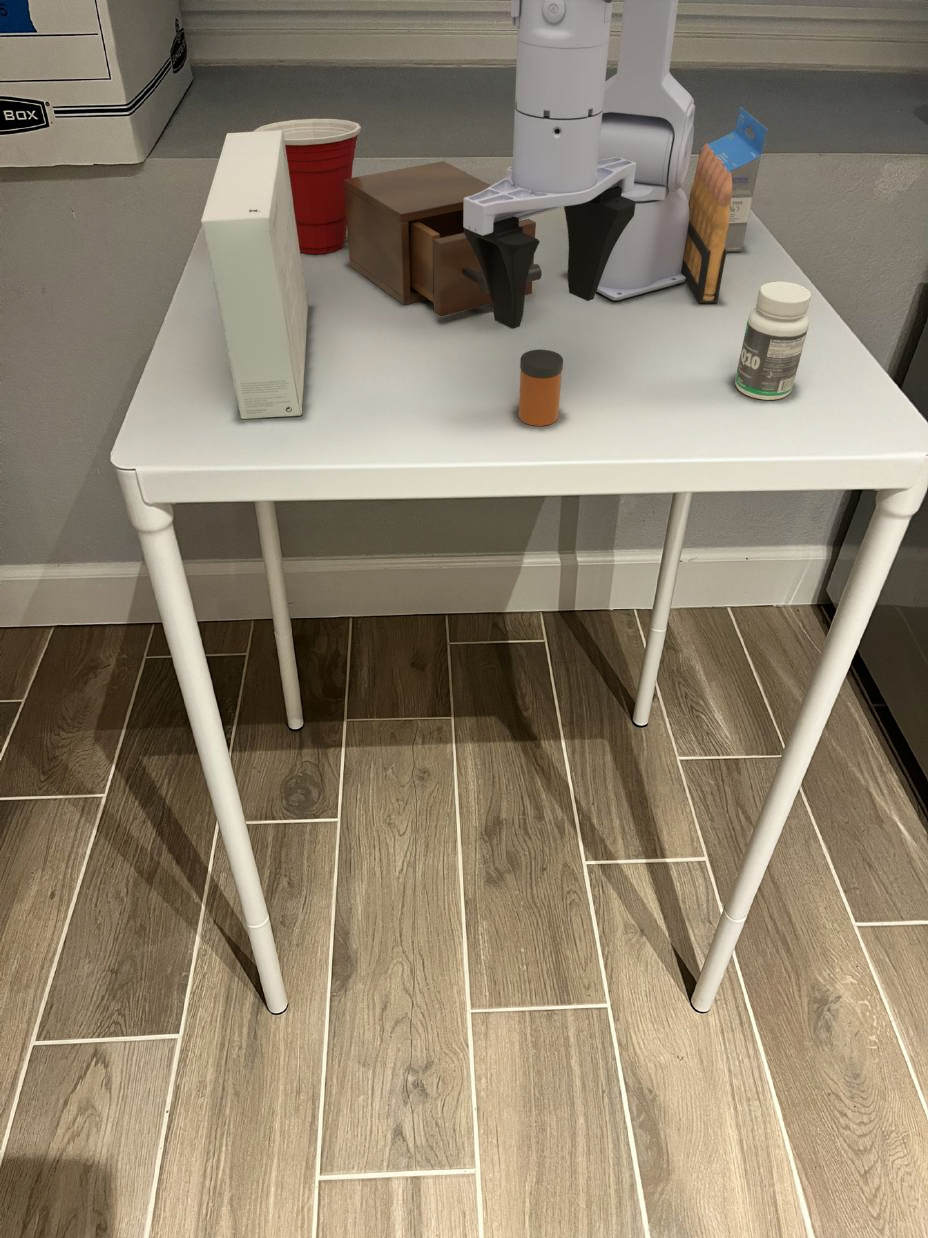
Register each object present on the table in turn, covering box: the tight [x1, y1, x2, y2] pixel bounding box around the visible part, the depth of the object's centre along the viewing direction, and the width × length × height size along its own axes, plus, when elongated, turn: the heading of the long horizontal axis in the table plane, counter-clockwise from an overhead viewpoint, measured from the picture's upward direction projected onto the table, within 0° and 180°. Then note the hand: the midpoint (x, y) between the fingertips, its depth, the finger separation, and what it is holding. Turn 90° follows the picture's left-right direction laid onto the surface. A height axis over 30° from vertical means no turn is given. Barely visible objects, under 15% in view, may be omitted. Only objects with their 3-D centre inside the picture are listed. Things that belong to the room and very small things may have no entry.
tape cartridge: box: [697, 106, 769, 254], centre depth 103 cm, size 9×4×12 cm, turn 6°
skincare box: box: [200, 130, 309, 420], centre depth 79 cm, size 21×5×16 cm, turn 5°
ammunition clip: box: [681, 142, 732, 304], centre depth 94 cm, size 11×2×12 cm, turn 3°
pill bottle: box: [734, 281, 812, 401], centre depth 79 cm, size 5×5×8 cm
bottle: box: [517, 348, 564, 427], centre depth 76 cm, size 3×3×5 cm
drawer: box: [408, 210, 543, 318], centre depth 91 cm, size 15×10×7 cm
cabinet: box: [344, 160, 492, 306], centre depth 96 cm, size 12×12×9 cm
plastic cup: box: [253, 118, 362, 255], centre depth 101 cm, size 11×11×12 cm
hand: (545, 309), depth 72 cm, fingers open, 7 cm apart
